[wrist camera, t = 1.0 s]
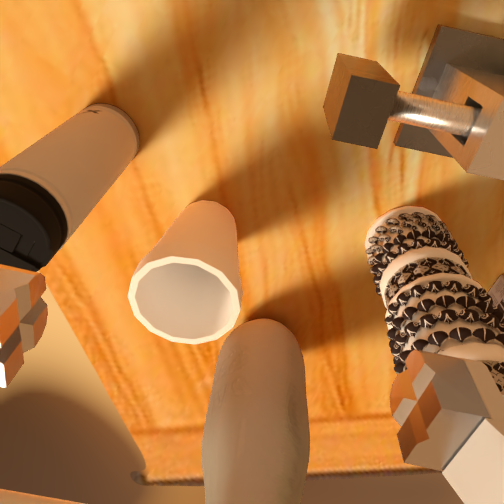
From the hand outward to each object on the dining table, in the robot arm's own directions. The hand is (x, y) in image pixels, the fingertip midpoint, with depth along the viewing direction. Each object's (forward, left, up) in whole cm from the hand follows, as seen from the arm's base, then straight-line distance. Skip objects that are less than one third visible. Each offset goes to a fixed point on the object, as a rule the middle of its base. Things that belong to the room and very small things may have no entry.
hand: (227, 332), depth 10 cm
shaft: (0, +14, -29) cm, 32 cm away
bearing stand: (0, +20, -34) cm, 39 cm away
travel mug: (+10, -14, -34) cm, 38 cm away
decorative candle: (+15, +18, -34) cm, 41 cm away
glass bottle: (+32, +6, -34) cm, 47 cm away
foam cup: (+18, -3, -34) cm, 38 cm away
